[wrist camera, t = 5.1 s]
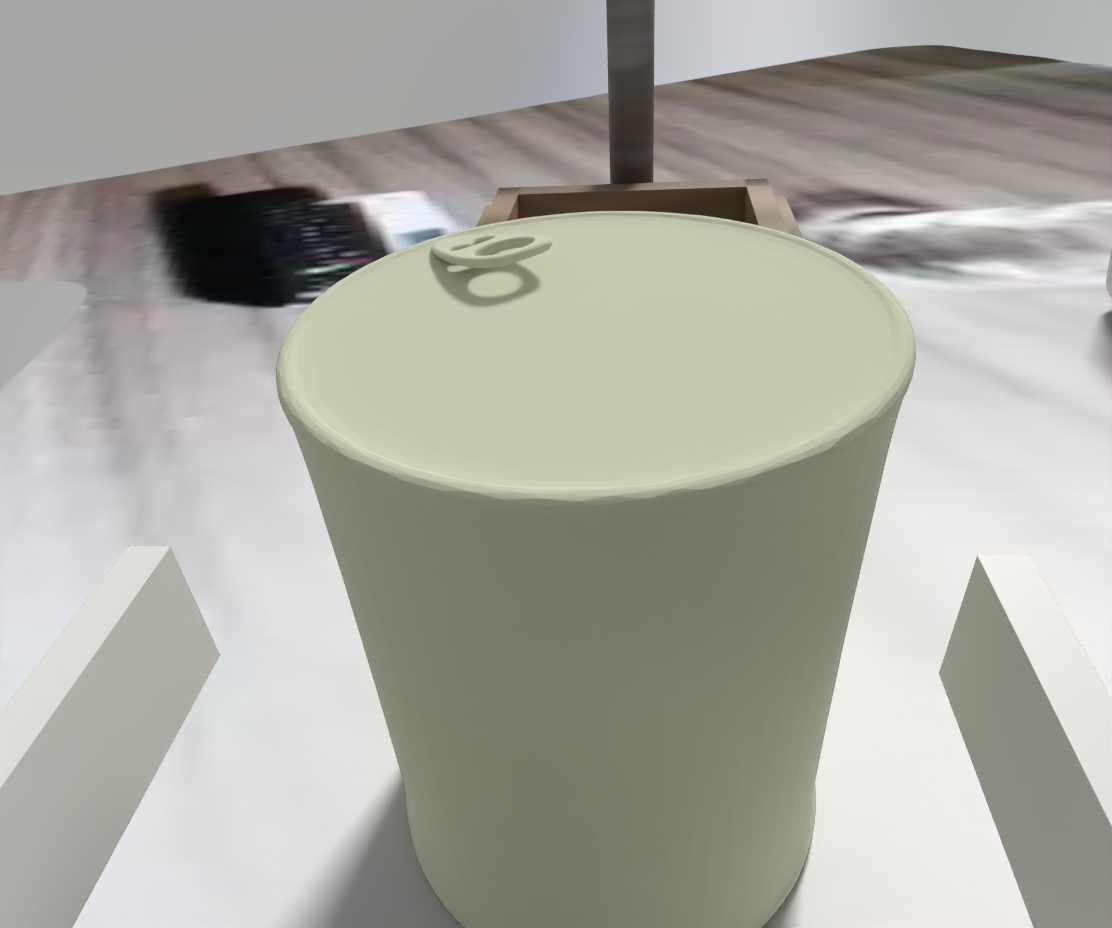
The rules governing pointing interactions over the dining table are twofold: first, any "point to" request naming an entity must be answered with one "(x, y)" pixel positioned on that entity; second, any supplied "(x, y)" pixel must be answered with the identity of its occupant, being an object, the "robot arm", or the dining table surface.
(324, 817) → the dining table surface
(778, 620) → the can
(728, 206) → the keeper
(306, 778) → the dining table surface
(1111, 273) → the wall hook
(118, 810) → the robot arm
